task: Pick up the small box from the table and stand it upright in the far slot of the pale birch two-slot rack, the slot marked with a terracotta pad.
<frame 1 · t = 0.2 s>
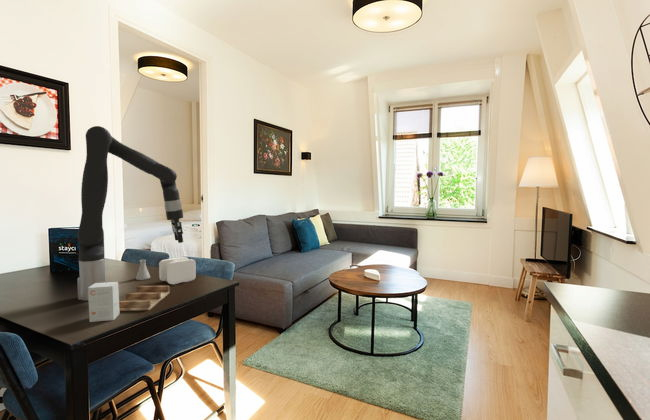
hand: (179, 241, 164), 22 cm above the table, tool pointing down, fingers open, 8 cm apart
small box: (104, 318, 124), on the table
cable organizer: (177, 281, 173), on the table
slot rack: (143, 301, 143), on the table
flask: (143, 278, 177), on the table
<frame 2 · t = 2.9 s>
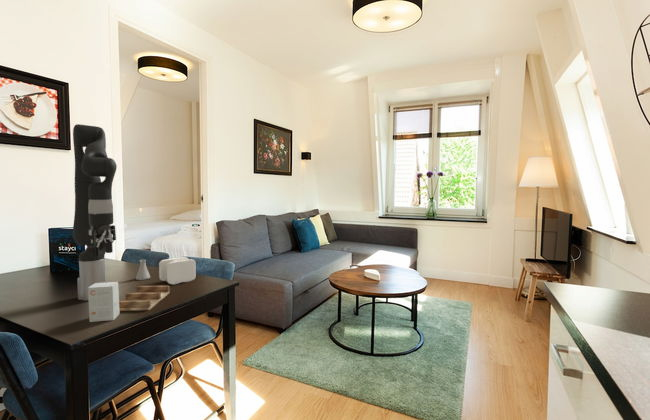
hand: (102, 255, 122), 24 cm above the table, tool pointing down, fingers open, 8 cm apart
nothing on the table moved.
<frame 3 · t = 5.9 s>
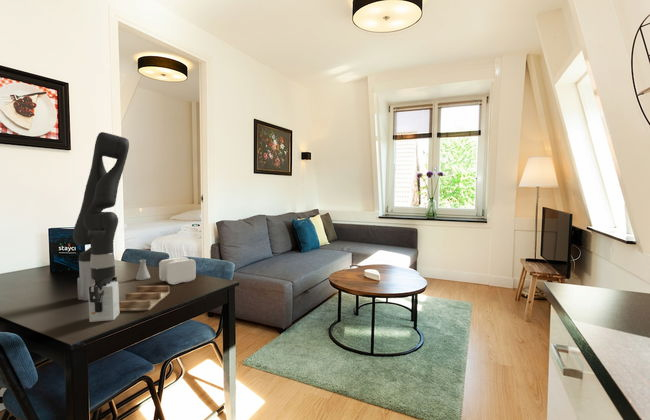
hand: (104, 308, 124), 4 cm above the table, tool pointing down, fingers closed on small box, 6 cm apart
small box: (104, 318, 124), on the table, touching gripper
everything else where it was.
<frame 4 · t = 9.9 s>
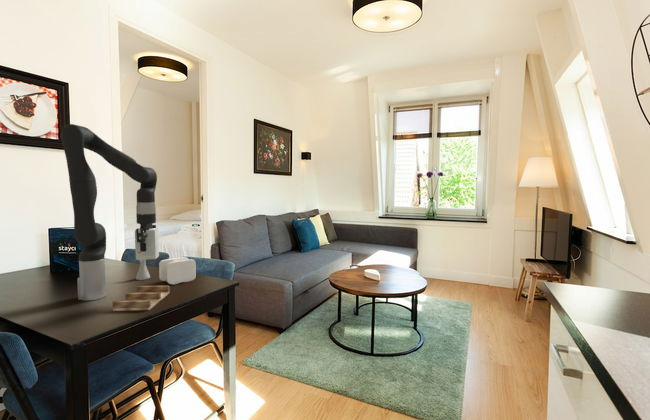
hand: (147, 249, 146), 22 cm above the table, tool pointing down, fingers closed on small box, 6 cm apart
small box: (147, 258, 146), point 18 cm above the table, touching gripper
everything else where it was.
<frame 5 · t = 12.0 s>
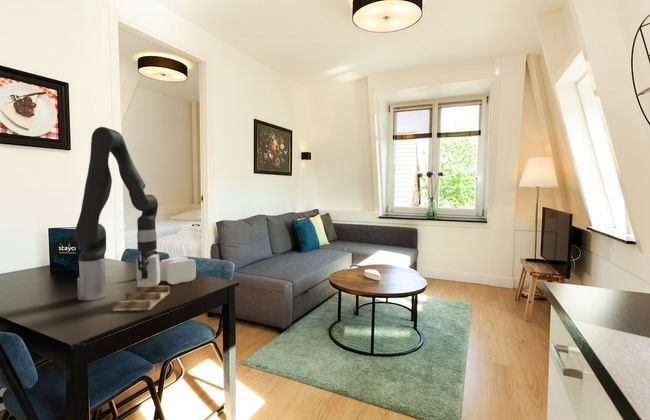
hand: (148, 276, 147), 10 cm above the table, tool pointing down, fingers closed on small box, 6 cm apart
small box: (149, 284, 147), point 6 cm above the table, touching gripper
everything else where it was.
when the fingers open (6 cm above the table, at t = 13.8 s): small box drops 1 cm, resting on slot rack.
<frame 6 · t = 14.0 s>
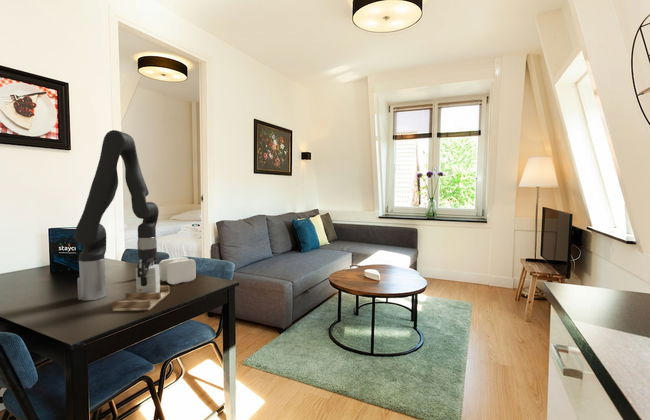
hand: (148, 282, 147), 7 cm above the table, tool pointing down, fingers open, 8 cm apart
small box: (148, 294, 148), point 1 cm above the table, touching slot rack
everything else where it was.
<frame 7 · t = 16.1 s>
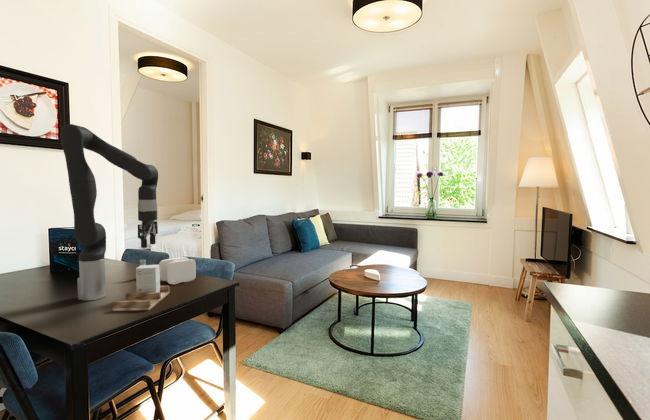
hand: (148, 245, 147), 23 cm above the table, tool pointing down, fingers open, 8 cm apart
nothing on the table moved.
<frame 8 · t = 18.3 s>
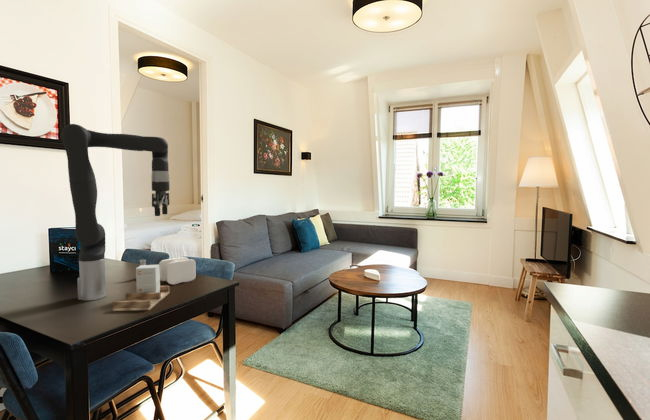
hand: (161, 215, 156), 36 cm above the table, tool pointing down, fingers open, 8 cm apart
nothing on the table moved.
at the end: small box inside the target area on the slot rack (0.1 cm from its centre), point 0.9 cm above the slot rack's base; small box tilted 0°; the gripper is holding nothing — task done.
